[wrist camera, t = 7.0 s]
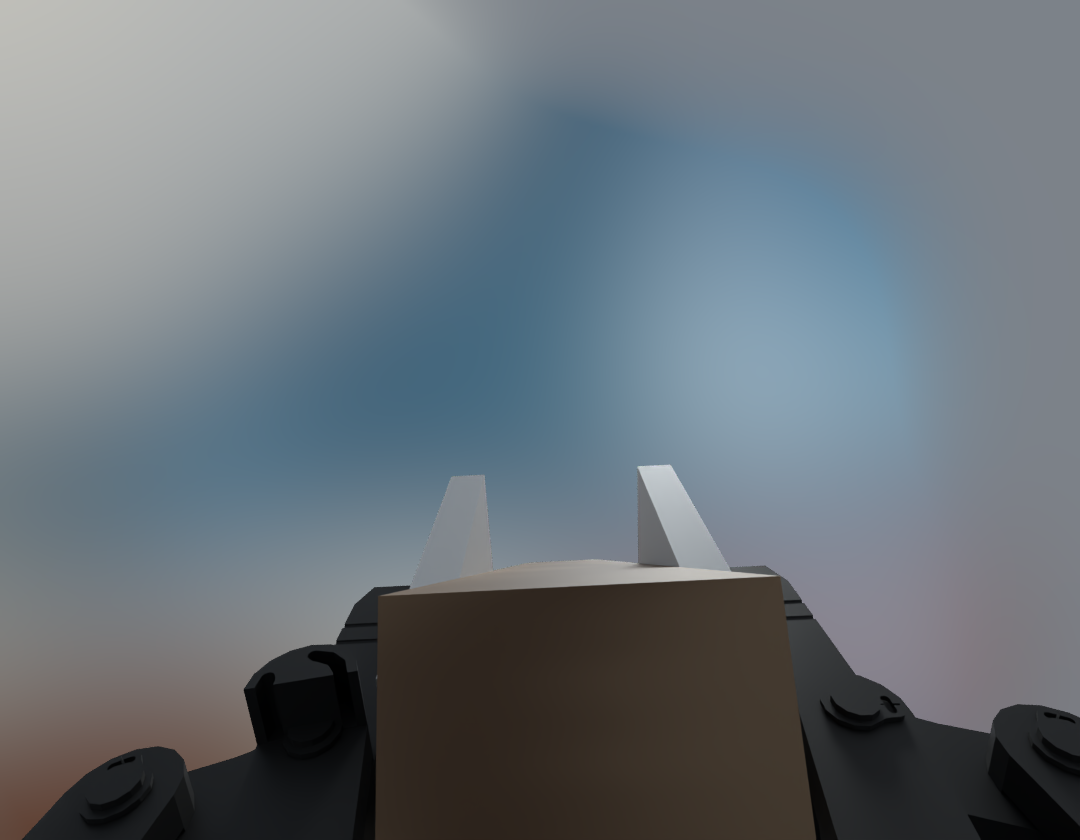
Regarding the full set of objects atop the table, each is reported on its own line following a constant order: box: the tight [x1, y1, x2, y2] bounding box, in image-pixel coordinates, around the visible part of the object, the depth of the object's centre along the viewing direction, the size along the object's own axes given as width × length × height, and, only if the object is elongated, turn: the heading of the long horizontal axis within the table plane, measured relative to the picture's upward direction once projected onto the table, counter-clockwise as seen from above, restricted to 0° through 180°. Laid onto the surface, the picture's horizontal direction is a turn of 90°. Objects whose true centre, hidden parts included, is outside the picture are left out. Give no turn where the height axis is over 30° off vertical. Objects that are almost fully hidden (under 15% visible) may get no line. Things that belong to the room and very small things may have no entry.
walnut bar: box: [375, 559, 816, 840], centre depth 17 cm, size 4×26×4 cm, turn 178°
